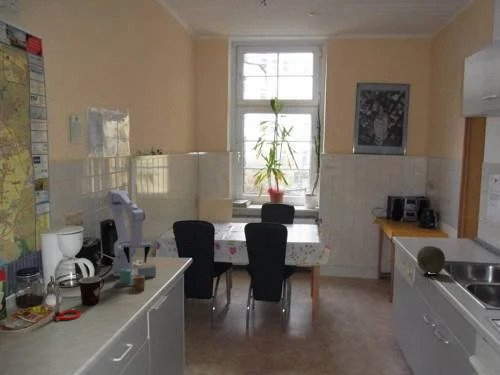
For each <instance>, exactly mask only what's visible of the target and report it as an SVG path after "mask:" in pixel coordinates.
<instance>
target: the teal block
mask: <svg viewBox="0 0 500 375" xmlns="http://www.w3.org/2000/svg"><path fill="white" fill-rule="evenodd" d="M131 279H132V276H131V269H121V271H120V276H119V280H120V284H130V283H131Z"/></svg>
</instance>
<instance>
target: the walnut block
mask: <svg viewBox="0 0 500 375" xmlns="http://www.w3.org/2000/svg"><path fill="white" fill-rule="evenodd" d="M133 276H134V277H133V279H134V287H133V292H145V287H146V286H145V285H146V284H145V282H146V280H145V279H146V278H145V275H138V274H134V275H133Z"/></svg>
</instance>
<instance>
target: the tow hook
mask: <svg viewBox="0 0 500 375" xmlns="http://www.w3.org/2000/svg"><path fill="white" fill-rule="evenodd" d="M67 314H75V315H73V316H64V315H67ZM53 316H54V319H55V321H56V322H60V321H71V320H76V319H78V318H80V317H81V316H82V312H81V311H79V310H74V309H73V310H72V309H70V310H63V311H60V284H57V285H56V291H55V304H54V313H53Z"/></svg>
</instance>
